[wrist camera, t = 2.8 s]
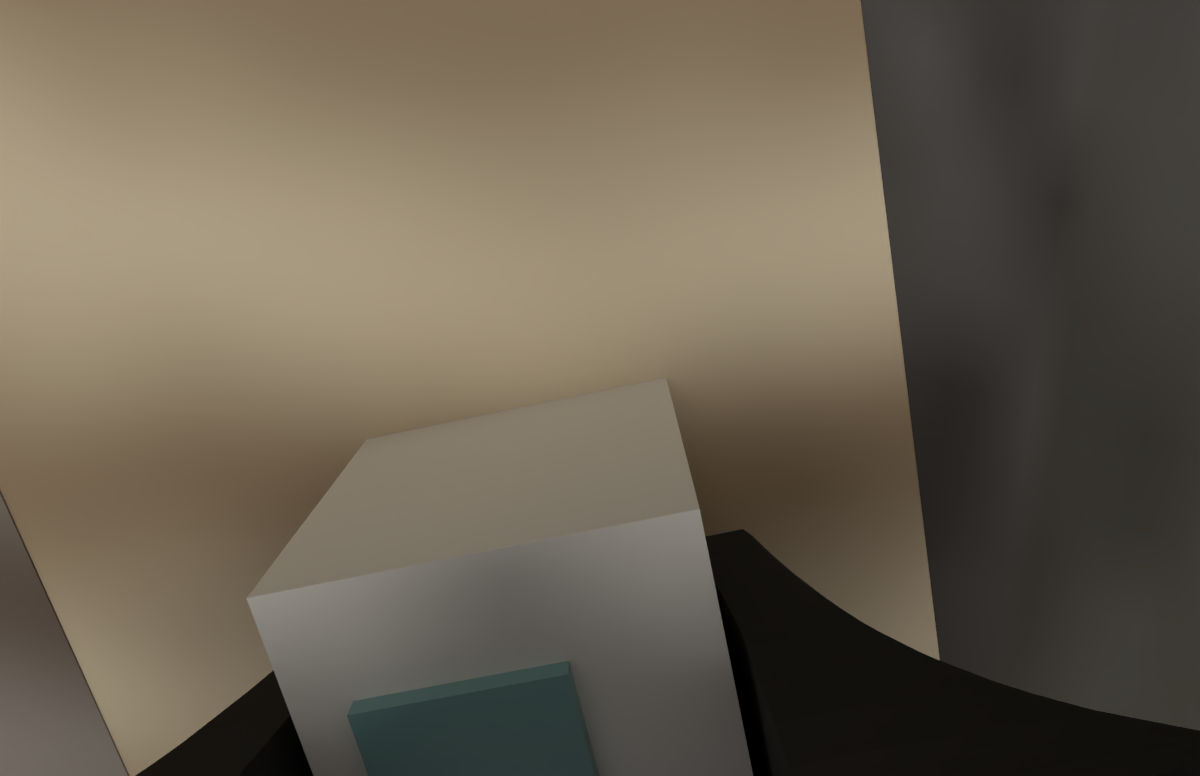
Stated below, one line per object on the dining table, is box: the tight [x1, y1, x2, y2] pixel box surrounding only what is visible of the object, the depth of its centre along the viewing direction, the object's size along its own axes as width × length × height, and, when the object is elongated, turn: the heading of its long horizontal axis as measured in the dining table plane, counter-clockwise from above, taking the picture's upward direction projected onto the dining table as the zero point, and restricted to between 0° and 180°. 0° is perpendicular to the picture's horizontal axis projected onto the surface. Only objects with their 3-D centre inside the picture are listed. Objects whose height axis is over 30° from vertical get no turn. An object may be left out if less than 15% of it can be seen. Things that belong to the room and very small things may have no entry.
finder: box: [246, 377, 753, 776], centre depth 10 cm, size 6×4×4 cm, turn 12°
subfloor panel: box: [0, 0, 940, 776], centre depth 12 cm, size 14×22×1 cm, turn 102°
